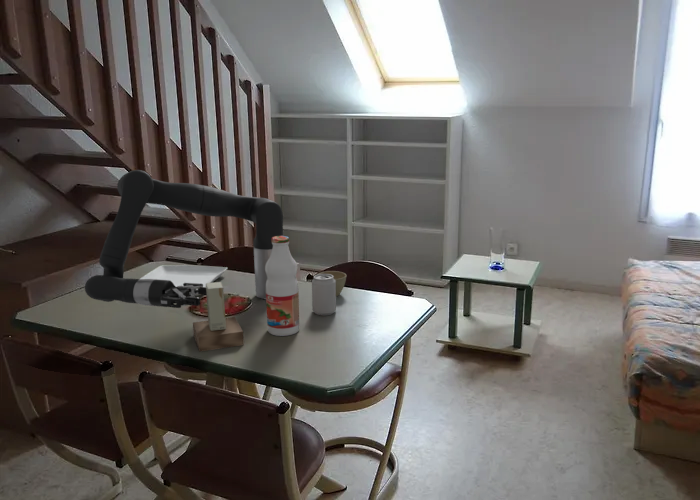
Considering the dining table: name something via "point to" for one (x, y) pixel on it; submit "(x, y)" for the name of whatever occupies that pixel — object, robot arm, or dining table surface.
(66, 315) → the dining table surface
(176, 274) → the square plate
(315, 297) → the can
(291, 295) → the fruit juice
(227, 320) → the walnut stand
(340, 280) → the beige bowl
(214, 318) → the skincare box
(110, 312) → the dining table surface
